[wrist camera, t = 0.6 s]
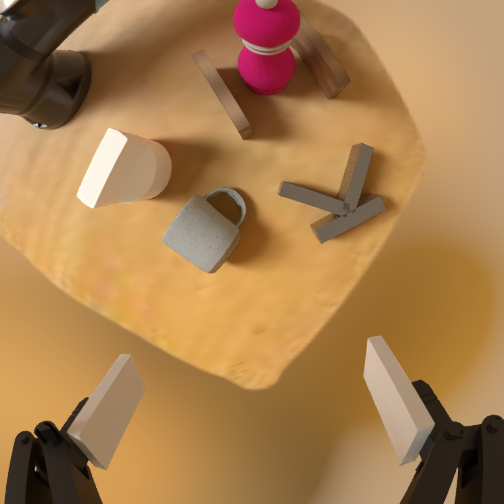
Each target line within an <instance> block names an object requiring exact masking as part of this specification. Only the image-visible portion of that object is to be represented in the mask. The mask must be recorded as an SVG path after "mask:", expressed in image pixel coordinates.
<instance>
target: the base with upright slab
mask: <svg viewBox="0 0 504 504" xmlns="http://www.w3.org/2000/svg"><path fill="white" fill-rule="evenodd" d="M171 172H172V163H171V159H170V156H169V153H168V152H167V150H166V149H165V147H163V146H162V145H161V144H160V143H158V142H155V141H153V140H150V139H146V138H143V137H140V136H136V135H133V134H130V133H126V132H122V131H119V130H115V129H112V128H109V129H108V130H107V132H106V134H105V136H104V138H103V140H102V142H101V144H100V145H99V147H98V149H97V151H96V153H95V155H94V157H93V160H92V162H91V164H90V166H89V168H88V170H87V172H86V175H85V177H84V179H83V181H82V184H81V186H80V188H79V191H78V193H77V197H78V198H79V199H80V200H81V201H82V202H83V203H84V204H85V205H87V206H89V207H91V208H97V207H102V206H106V205H111V204H116V203H123V204H126V203H132V202H137V201H142V200H147V199H151V198H153V197H155V196H157V195H158V194H160V193H161V192H162V191H163V190H164V189H165V187H166V186H167V184H168V182H169V180H170V177H171Z"/></svg>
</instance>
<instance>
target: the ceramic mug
mask: <svg viewBox="0 0 504 504" xmlns="http://www.w3.org/2000/svg"><path fill="white" fill-rule="evenodd" d="M220 192H225V193H228V194H229V195H230V196H231V197H232V198H233V199H234V200H235V201H236V202H237V205H239V206H241V217H240V219H239V221H238V223H237V224H236V225H234V224H233V223H232V222H231V221H230V220H228V219H227V218H226V217H224V216H223V215H222V214H221V213H220V212H219V211H218V210H216V209H215V208H214V207H213V206H212V205H211V204H210V203H208V202H207V201H206V200H207V199H208V198H209V197H211V196H212V195H214V194H216V193H220ZM245 214H246V205H245V202H244V200H243V198H242V197H241V195H240V194H239V193H237V192H236V191H235V190H233V189H231V188H227V187H223V188H218V189H215V190H213V191H211V192H210V193H208V194H207V195H206V196H205V197H201V196H200V195H195V196H194V197H192V198H191V199H190V200H189V202H188V203H187V204H186V205H185V206H184V207H183V208H182V210H181V211H180V212H179V213H178V215H177V216H176V217H175V219H174V220H173V221H172V223H171V224H170V226H169V228H168V229H167V231H166V232H165V234H164V236H163V239H162V242H163V243H164V244H165V245H167V246H168V247H170V248H171V249H173V250H174V251H175V252H177V253H178V254H180V255H181V256H182V257H184V258H185V259H187V260H188V261H190V262H191V263H193V264H194V265H195V266H197V267H198V268H200V269H201V270H203V271H205V272H207V273H214V272H216V271H217V270H218V269H219V268H220V267H221V266H222V265H223V263H224V262H225V261H226V260H227V258H228V257H229V256H230V254H231V253H232V252H233V250H234V249H235V247H236V246H237V244H238V243H239V241H240V239H241V232H240V231H239V229H238V227H239V226H240V225H241V223H242V222H243V220H244V218H245Z"/></svg>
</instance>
